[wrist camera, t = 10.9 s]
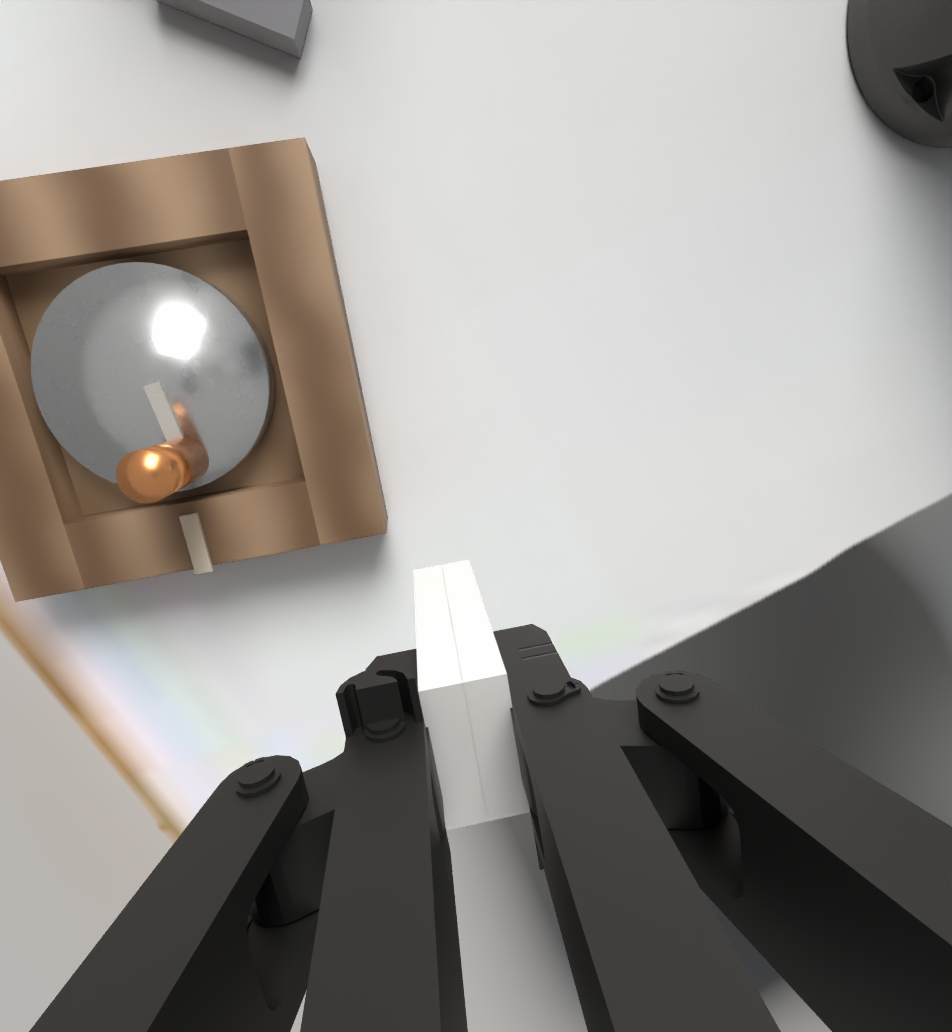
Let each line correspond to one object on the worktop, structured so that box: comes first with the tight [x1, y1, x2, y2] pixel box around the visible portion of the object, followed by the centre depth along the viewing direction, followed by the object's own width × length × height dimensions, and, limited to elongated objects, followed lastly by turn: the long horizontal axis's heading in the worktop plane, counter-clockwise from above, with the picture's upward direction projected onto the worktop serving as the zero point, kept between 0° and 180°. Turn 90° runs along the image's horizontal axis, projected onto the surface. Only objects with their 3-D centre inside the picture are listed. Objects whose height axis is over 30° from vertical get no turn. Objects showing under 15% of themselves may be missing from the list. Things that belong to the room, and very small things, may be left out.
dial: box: [31, 262, 275, 503], centre depth 34 cm, size 13×13×8 cm
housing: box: [0, 137, 388, 602], centre depth 38 cm, size 22×22×5 cm
